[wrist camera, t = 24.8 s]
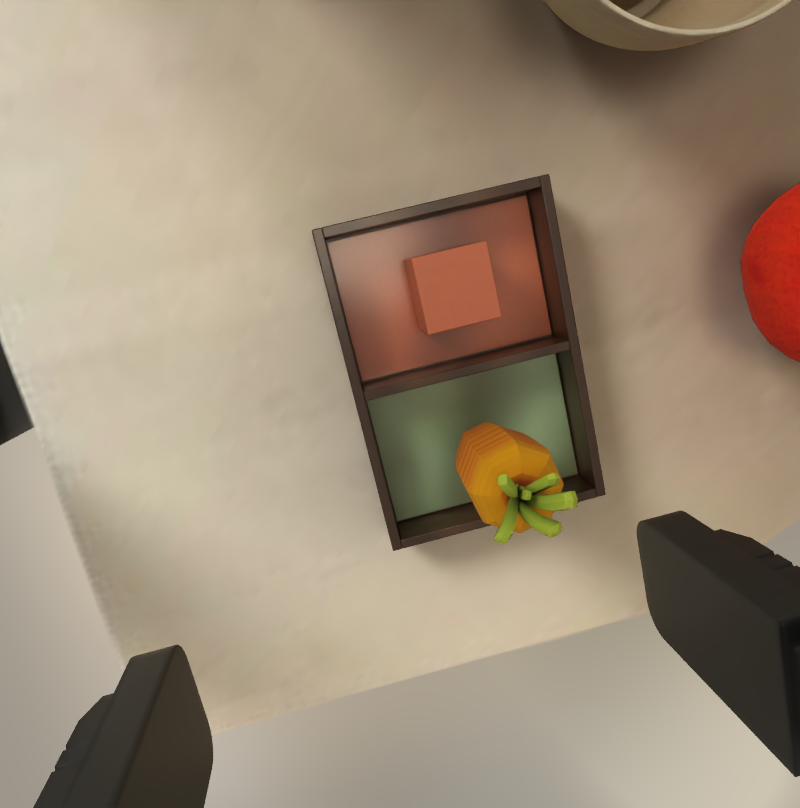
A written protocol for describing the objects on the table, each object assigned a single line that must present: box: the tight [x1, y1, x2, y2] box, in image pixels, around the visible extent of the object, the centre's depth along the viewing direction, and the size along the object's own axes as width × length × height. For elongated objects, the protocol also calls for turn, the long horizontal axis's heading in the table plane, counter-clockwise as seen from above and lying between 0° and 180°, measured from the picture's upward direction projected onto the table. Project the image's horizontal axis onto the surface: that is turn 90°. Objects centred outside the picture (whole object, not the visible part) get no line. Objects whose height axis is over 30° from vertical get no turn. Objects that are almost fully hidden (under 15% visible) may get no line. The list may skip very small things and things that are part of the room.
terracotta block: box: [404, 241, 502, 335], centre depth 40 cm, size 4×4×4 cm
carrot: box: [456, 422, 578, 544], centre depth 37 cm, size 5×5×15 cm
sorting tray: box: [312, 174, 606, 551], centre depth 42 cm, size 14×20×4 cm
